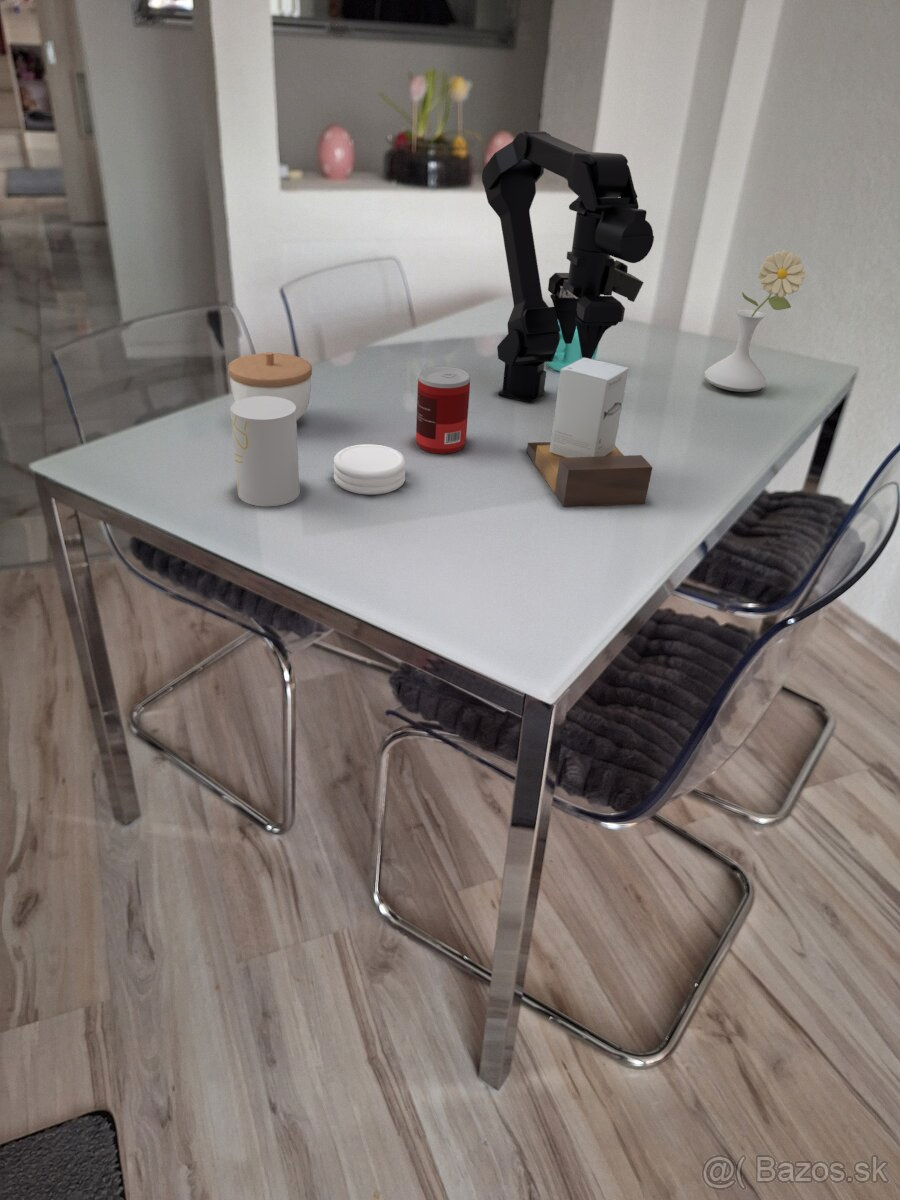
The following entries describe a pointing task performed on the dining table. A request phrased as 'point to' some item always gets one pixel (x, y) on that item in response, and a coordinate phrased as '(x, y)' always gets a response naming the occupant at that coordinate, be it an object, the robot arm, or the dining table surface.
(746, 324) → the flower in vase
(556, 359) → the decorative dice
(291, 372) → the lidded bowl
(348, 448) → the coaster
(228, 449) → the dining table surface
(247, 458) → the cup
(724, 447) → the dining table surface
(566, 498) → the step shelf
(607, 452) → the white packaging box
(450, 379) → the canned food
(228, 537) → the dining table surface
